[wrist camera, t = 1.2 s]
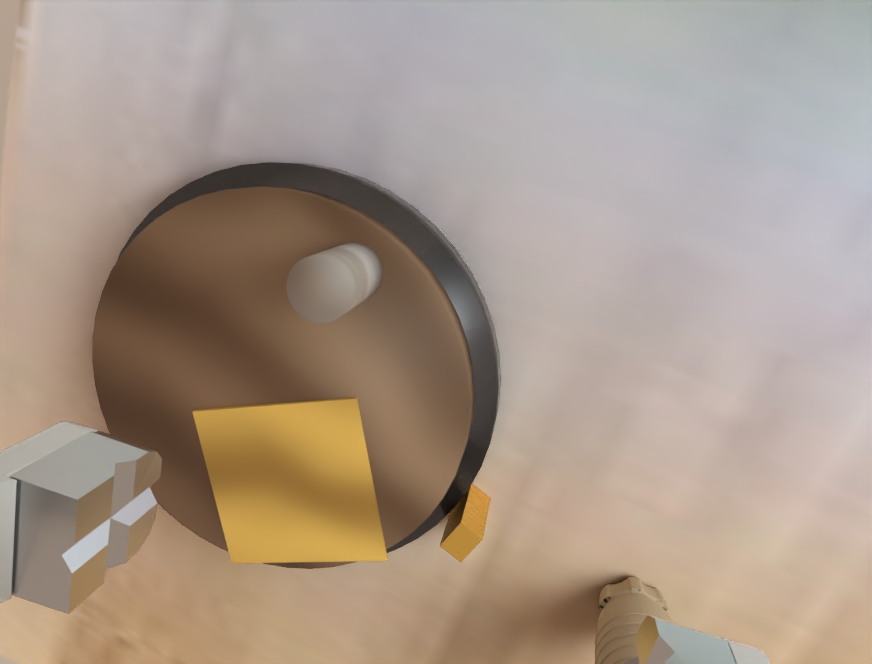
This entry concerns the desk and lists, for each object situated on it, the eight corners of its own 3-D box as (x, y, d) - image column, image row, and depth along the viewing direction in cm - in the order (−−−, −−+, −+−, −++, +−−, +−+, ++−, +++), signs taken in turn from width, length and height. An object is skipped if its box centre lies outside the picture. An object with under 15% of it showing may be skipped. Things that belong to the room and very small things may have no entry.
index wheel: (335, 613, 32) (291, 701, 26) (60, 401, 32) (-39, 448, 26) (558, 358, 26) (559, 406, 21) (223, 99, 26) (138, 81, 21)
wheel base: (236, 70, 27) (192, 57, 24) (615, 362, 27) (623, 389, 24) (64, 392, 34) (9, 416, 30) (371, 628, 34) (351, 678, 30)
